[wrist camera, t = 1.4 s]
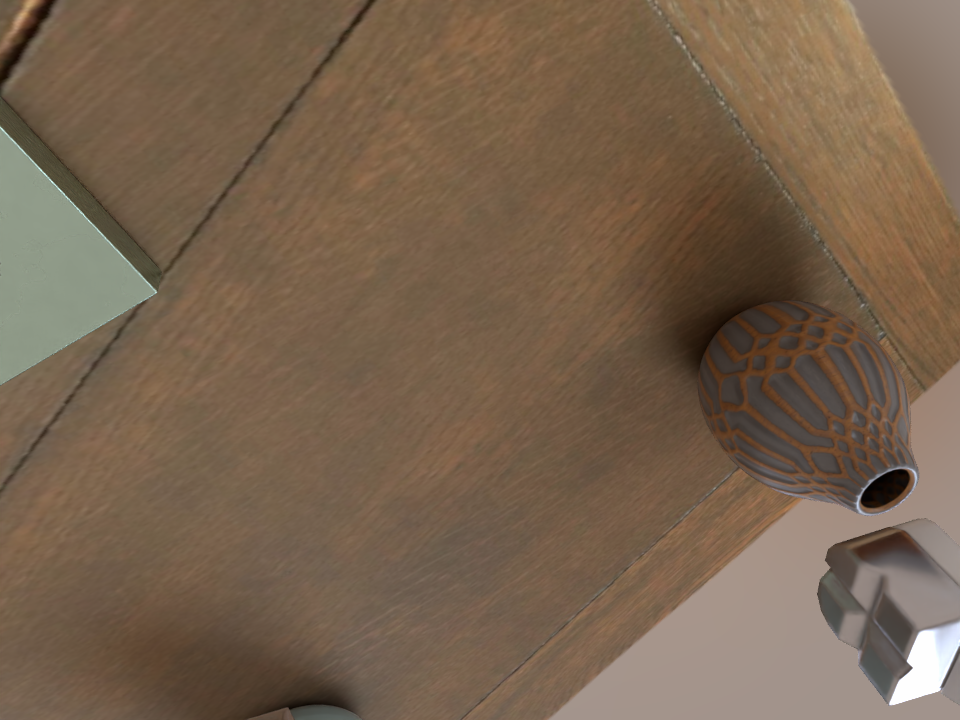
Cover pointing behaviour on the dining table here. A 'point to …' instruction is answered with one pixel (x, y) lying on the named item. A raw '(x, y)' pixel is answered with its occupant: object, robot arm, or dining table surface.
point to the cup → (323, 713)
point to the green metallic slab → (57, 255)
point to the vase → (810, 406)
